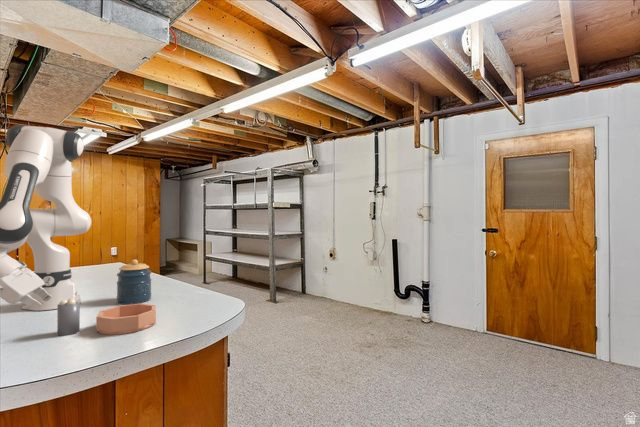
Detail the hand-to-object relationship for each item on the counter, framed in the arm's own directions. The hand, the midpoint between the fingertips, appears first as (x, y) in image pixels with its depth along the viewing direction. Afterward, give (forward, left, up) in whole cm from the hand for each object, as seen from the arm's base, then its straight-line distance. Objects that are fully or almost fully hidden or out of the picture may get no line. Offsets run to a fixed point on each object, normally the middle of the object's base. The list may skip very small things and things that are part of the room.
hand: (44, 303), depth 100 cm
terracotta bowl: (+1, +22, -10) cm, 24 cm away
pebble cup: (0, +6, -10) cm, 11 cm away
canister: (-35, +22, -10) cm, 43 cm away
